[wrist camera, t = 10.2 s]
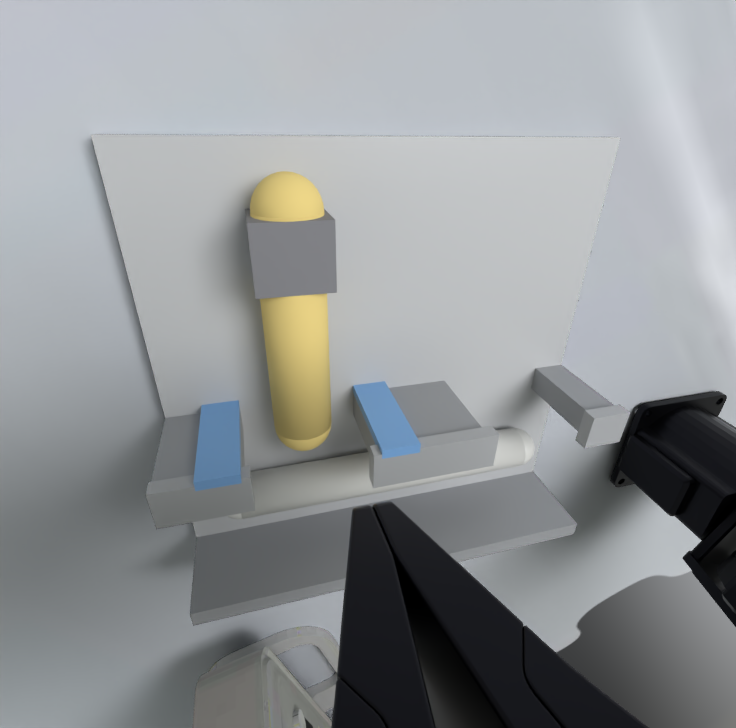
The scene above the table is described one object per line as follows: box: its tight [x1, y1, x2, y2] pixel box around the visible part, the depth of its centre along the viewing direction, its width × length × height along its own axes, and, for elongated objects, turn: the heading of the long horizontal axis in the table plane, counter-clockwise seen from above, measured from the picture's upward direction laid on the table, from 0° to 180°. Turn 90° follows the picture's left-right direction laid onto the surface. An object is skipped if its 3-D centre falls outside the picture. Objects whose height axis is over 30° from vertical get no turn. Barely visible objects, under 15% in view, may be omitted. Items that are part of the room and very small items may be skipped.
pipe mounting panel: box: [91, 134, 630, 626], centre depth 18 cm, size 19×18×5 cm
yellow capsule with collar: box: [245, 171, 337, 451], centre depth 17 cm, size 11×3×2 cm, turn 179°
